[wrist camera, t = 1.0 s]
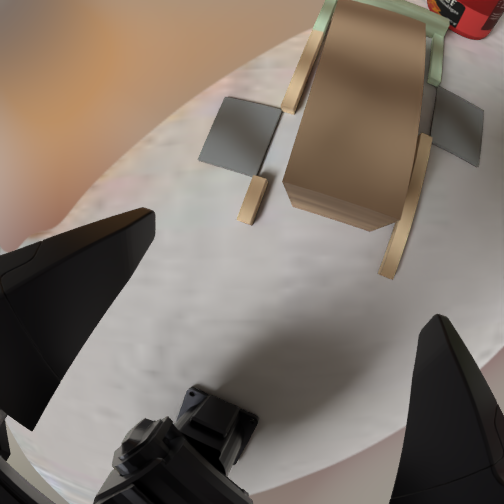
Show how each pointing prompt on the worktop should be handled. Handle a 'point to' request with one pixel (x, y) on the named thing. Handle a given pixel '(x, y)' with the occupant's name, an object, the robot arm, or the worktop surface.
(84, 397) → the worktop surface
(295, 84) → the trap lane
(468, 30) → the canned food
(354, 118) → the walnut block
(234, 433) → the robot arm
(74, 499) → the worktop surface
